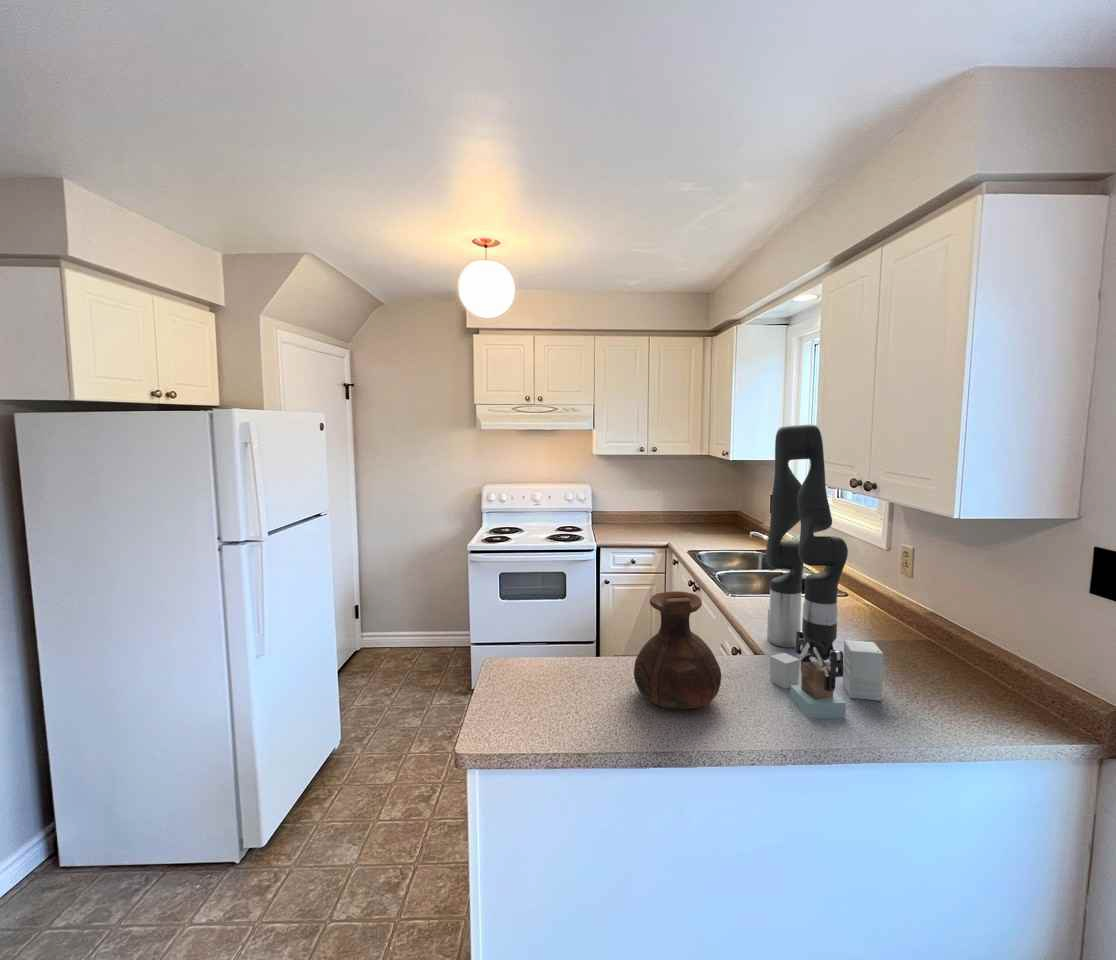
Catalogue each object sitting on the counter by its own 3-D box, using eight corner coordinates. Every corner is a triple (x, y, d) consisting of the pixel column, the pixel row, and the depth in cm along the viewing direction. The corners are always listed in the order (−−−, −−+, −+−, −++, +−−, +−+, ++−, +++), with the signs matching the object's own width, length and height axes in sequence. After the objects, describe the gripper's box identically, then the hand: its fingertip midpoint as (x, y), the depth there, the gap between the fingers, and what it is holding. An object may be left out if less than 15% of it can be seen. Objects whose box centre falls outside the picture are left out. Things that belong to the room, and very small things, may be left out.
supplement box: (872, 687, 139) (874, 641, 137) (881, 702, 132) (884, 653, 130) (841, 684, 141) (843, 638, 139) (848, 698, 134) (851, 650, 132)
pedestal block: (790, 700, 134) (790, 685, 133) (824, 699, 134) (825, 684, 133) (807, 719, 125) (808, 703, 124) (844, 718, 125) (845, 702, 124)
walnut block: (801, 689, 131) (802, 662, 130) (818, 687, 132) (819, 660, 131) (815, 699, 126) (816, 671, 125) (833, 697, 127) (834, 669, 126)
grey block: (770, 680, 143) (770, 656, 142) (783, 676, 145) (784, 652, 145) (785, 688, 139) (786, 663, 138) (798, 684, 141) (799, 659, 140)
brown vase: (615, 696, 136) (615, 583, 133) (668, 671, 149) (669, 568, 146) (685, 733, 119) (686, 605, 116) (737, 701, 133) (740, 585, 130)
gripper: (787, 609, 133) (785, 670, 135) (826, 630, 119) (823, 698, 121) (814, 606, 135) (811, 667, 136) (855, 627, 121) (852, 694, 122)
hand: (817, 681), depth 129 cm, fingers open, 8 cm apart
